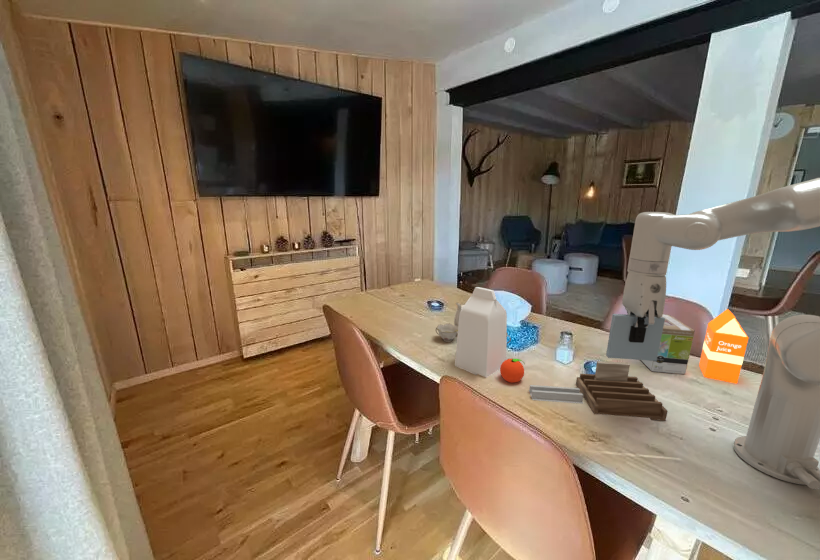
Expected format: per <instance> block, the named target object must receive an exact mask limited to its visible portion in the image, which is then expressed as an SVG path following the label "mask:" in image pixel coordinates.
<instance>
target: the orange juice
mask: <svg viewBox="0 0 820 560" xmlns="http://www.w3.org/2000/svg"><path fill="white" fill-rule="evenodd" d="M748 343H749V336H748V335H747V333H746V332H745V330H744V329H743V328H742V326H741V324H740V322H739V321H738V320H737V319H736V316H735V315H734V313H732V312H731V310H729V308H726V309H725V310H724V311H723V312H721V313H720V314H718V315H717V316H715V318H713V319H711V320H710V321H709V322H708V323H707V327H706V331H705V337H704V340H703V345H702V350H701V354H700V359H699V363H698V364H699V365H698V366H699V368H700V371H701V373H702V376H703V377H704V378H707V379H710V380H711V379H712V380H715V381H722V382H727V383H732V384H738V381H739V378H740V373H741V369H742V365H743V362H744V360H745V359H744V358H745V354H746V350H747V345H748Z"/></svg>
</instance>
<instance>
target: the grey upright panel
mask: <svg viewBox="0 0 820 560" xmlns="http://www.w3.org/2000/svg"><path fill="white" fill-rule="evenodd" d="M634 318H635V315H628V314H627V313H626V314H623V313H622V314H621V313H612V316H611V322H610V328H609V335H608V340H607V347H606V353H605V355H606V357H607V358H608V359H622V360H623V359H624V360H634V361H635V360H636V361H637V360H638V361H639V360H640V361H641V360H650V361H657V356H658V351H659V346H660V341H661V336H662V331H663V326H664V321H665V318H664V317H662V318H656V317H654V325H648V328H646V333H645V338H644V342H643V343H637V342H630V341H629V335H630V329H631V326H633V323H634ZM640 319H645V318H640ZM640 319H639V320H640Z"/></svg>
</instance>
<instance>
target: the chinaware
mask: <svg viewBox="0 0 820 560" xmlns="http://www.w3.org/2000/svg"><path fill="white" fill-rule="evenodd" d="M455 304H456V305H457V310H456V313H455V315H454V321H453V322H454V323H453V324H452V323H450V322H449V323H448V322H447V323H445V324H441V323H440V324H438V325H437V327H435V332H436V334H437V335H439V336H440V338H441V339H442V340H443V341H444V342H446V343H450V342H452V341H453V339H454V338H456V336H458V325H459V314H460V311H461V309H462V308H463V307H462V305H461V304H460V302H455ZM508 334H509V333H508V332H507V337H509V341H507V342H506V344H509V343H511V340H512V339H511V336H510V335H508Z"/></svg>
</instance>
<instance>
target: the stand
mask: <svg viewBox="0 0 820 560" xmlns="http://www.w3.org/2000/svg"><path fill="white" fill-rule="evenodd" d="M528 392H529V394H530V397H531V400H532V401H539V402H552V403H553V402H555V403H568V404H581V405H584V402H583V400H584V396H583V394H582V393H581V391H580V389H579V388H578V387H566V386H565V387H563V386H553V385H552V386H551V385H535V384H530V385H529V389H528Z"/></svg>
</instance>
